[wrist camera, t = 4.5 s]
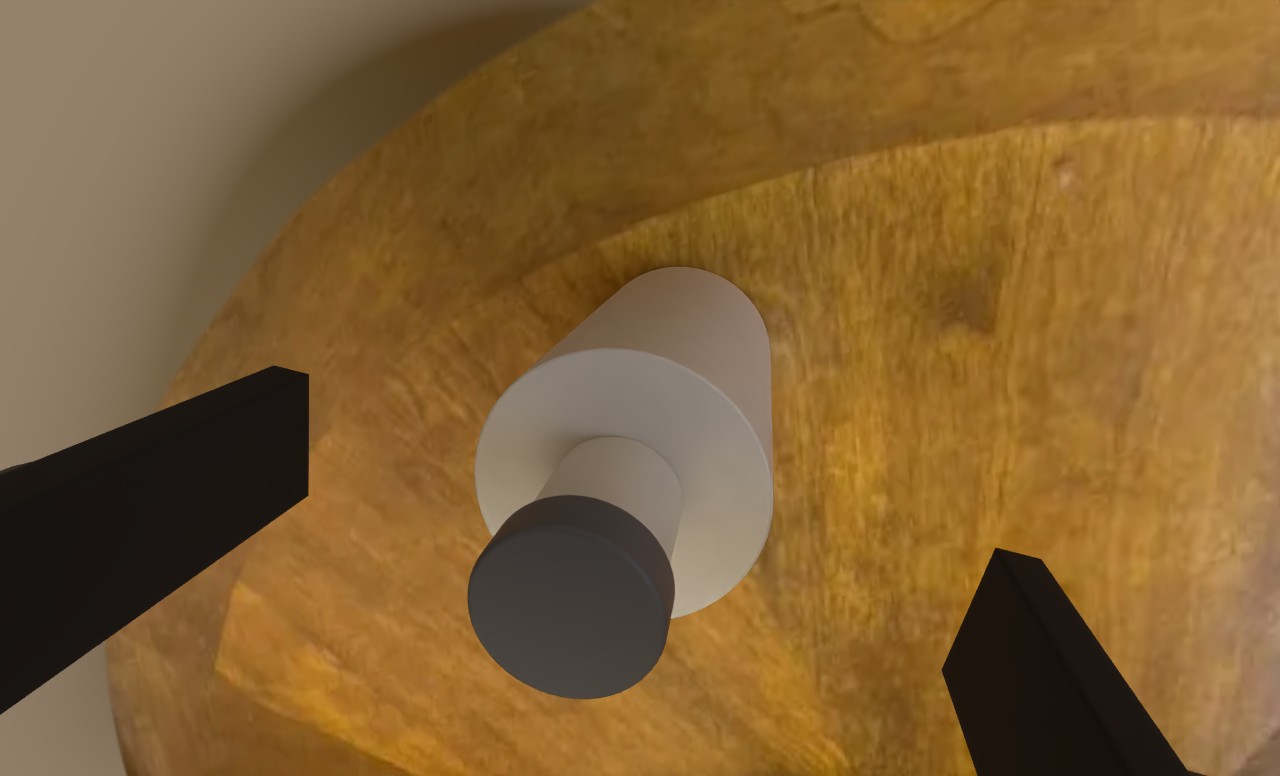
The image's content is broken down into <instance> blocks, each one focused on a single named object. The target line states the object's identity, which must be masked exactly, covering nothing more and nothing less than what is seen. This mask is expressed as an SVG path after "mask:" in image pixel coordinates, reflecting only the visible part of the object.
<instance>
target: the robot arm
mask: <svg viewBox="0 0 1280 776" xmlns="http://www.w3.org/2000/svg"><path fill="white" fill-rule="evenodd" d="M308 477H309V374H306V373H302V372H298V371H294V370H290V369H286V368H282V367H278V366H271V367H269V368H266V369H264V370H261V371H259V372H256V373H254V374H251V375H249V376H246V377H244V378H241V379H239V380H236V381H234V382H231V383H229V384H226V385H224V386H221V387H219V388H216V389H214V390H211V391H209V392H206V393H204V394H201V395H199V396H196V397H194V398H191V399H189V400H186V401H184V402H181V403H179V404H176V405H174V406H171V407H169V408H166V409H164V410H161V411H159V412H156V413H154V414H151V415H149V416H147V417H144V418H141V419H139V420H136V421H134V422H131V423H129V424H126V425H124V426H122V427H119V428H116V429H114V430H111V431H109V432H106V433H104V434H101V435H99V436H96V437H94V438H91V439H89V440H86V441H84V442H81V443H79V444H76V445H74V446H71V447H69V448H66V449H64V450H61V451H59V452H57V453H54V454H51V455H49V456H46V457H44V458H41V459H39V460H36V461H34V462H29V463H25V464H21V465H17V466H13V467H10V468H7V469H5V470H2V471H0V715H1V714H2V713H3V712H5V711H6V710H8V709H9V708H10V707H12V706H13V705H15V704H16V703H18V702H19V701H20V700H22V699H23V698H25V697H26V696H27V695H29V694H30V693H32V692H33V691H34V690H36V689H37V688H39V687H40V686H41V685H43V684H44V683H46V682H47V681H48V680H50V679H51V678H53V677H54V676H55V675H57V674H58V673H60V672H61V671H63V670H64V669H65V668H67V667H68V666H69V665H71V664H72V663H74V662H75V661H77V660H78V659H79V658H81V657H82V656H84V655H85V654H86V653H88V652H89V651H90V650H92V649H93V648H95V647H96V646H97V645H99V644H100V643H102V642H103V641H105V640H106V639H107V638H109V637H110V636H112V635H113V634H114V633H116V632H117V631H119V630H120V629H122V628H123V627H124V626H126V625H127V624H129V623H130V622H131V621H133V620H134V619H136V618H137V617H138V616H140V615H141V614H143V613H144V612H145V611H147V610H148V609H150V608H151V607H152V606H154V605H155V604H157V603H158V602H159V601H161V600H162V599H164V598H165V597H166V596H168V595H169V594H171V593H172V592H173V591H175V590H176V589H178V588H179V587H181V586H182V585H183V584H185V583H186V582H188V581H189V580H190V579H192V578H193V577H195V576H196V575H197V574H199V573H200V572H202V571H203V570H204V569H206V568H207V567H209V566H210V565H211V564H213V563H214V562H216V561H217V560H218V559H220V558H221V557H223V556H224V555H225V554H227V553H228V552H230V551H231V550H233V549H234V548H235V547H237V546H238V545H240V544H241V543H242V542H244V541H245V540H247V539H248V538H249V537H251V536H252V535H254V534H255V533H256V532H258V531H259V530H261V529H262V528H263V527H265V526H266V525H268V524H269V523H270V522H272V521H273V520H275V519H276V518H277V517H279V516H280V515H282V514H283V513H284V512H286V511H287V510H289V509H290V508H292V507H293V506H294V505H296V504H297V503H299V502H300V501H301V500H303V499H304V498H306V497H307V496H308ZM942 673H943V676H944V679H945V682H946V684H947V687H948V690H949V693H950V696H951V699H952V702H953V705H954V708H955V711H956V714H957V717H958V720H959V723H960V725H961V728H962V731H963V734H964V737H965V740H966V743H967V746H968V749H969V752H970V755H971V758H972V761H973V764H974V767H975V769H976V772H977V775H978V776H1206V775H1202V774H1199V773H1195V772H1191V771H1188V770H1187V769H1186V768H1185V766H1184V765H1183V763H1182V762H1181V761H1180V759H1179V758H1178V756H1177V755H1176V753H1175V752H1174V750H1173V749H1172V748H1171V746H1170V745H1169V743H1168V742H1167V740H1166V739H1165V737H1164V736H1163V735H1162V733H1161V732H1160V730H1159V729H1158V727H1157V726H1156V724H1155V723H1154V722H1153V720H1152V719H1151V717H1150V716H1149V714H1148V713H1147V711H1146V710H1145V709H1144V707H1143V706H1142V704H1141V703H1140V701H1139V700H1138V698H1137V697H1136V696H1135V694H1134V693H1133V691H1132V690H1131V688H1130V687H1129V685H1128V684H1127V683H1126V681H1125V680H1124V678H1123V677H1122V675H1121V674H1120V672H1119V671H1118V669H1117V668H1116V667H1115V665H1114V664H1113V662H1112V661H1111V659H1110V658H1109V656H1108V655H1107V654H1106V652H1105V651H1104V649H1103V648H1102V646H1101V645H1100V643H1099V642H1098V641H1097V639H1096V638H1095V636H1094V635H1093V633H1092V632H1091V630H1090V629H1089V628H1088V626H1087V625H1086V623H1085V622H1084V620H1083V619H1082V617H1081V616H1080V615H1079V613H1078V612H1077V610H1076V609H1075V607H1074V606H1073V604H1072V603H1071V602H1070V600H1069V599H1068V597H1067V596H1066V594H1065V593H1064V591H1063V590H1062V589H1061V587H1060V586H1059V584H1058V583H1057V581H1056V580H1055V578H1054V577H1053V575H1052V574H1051V573H1050V571H1049V570H1048V568H1047V567H1046V565H1045V564H1044V562H1043V561H1042V560H1041V559H1039V558H1035V557H1031V556H1027V555H1023V554H1019V553H1015V552H1011V551H1007V550H1003V549H999V548H995V550H994V552H993V555H992V557H991V559H990V561H989V564H988V566H987V568H986V570H985V573H984V575H983V577H982V579H981V582H980V584H979V586H978V589H977V591H976V593H975V595H974V598H973V600H972V602H971V604H970V607H969V609H968V611H967V614H966V616H965V618H964V620H963V623H962V625H961V627H960V629H959V632H958V634H957V636H956V638H955V641H954V643H953V645H952V648H951V650H950V652H949V654H948V657H947V659H946V661H945V663H944V666H943V668H942Z"/></svg>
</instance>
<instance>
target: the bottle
mask: <svg viewBox="0 0 1280 776" xmlns="http://www.w3.org/2000/svg"><path fill="white" fill-rule="evenodd" d="M475 485H476V494H477V498H478V502H479V506H480V510H481V513H482V515H483V518H484V521H485V523H486V526H487V528H488V530H489V532H490V534H491V536H492V537H493V538H492V540H491V541H490V542H489V544H488V545H487V546H486V548H485V549H484V551H483V552H482V553H481V555H480V556H479V558H478V559H477V561H476V563H475V565H474V567H473V570H472V572H471V575H470V579H469V585H468V609H469V615H470V618H471V622H472V625H473V627H474V630H475V632H476V634H477V636H478V638H479V640H480V642H481V643H482V645H483V646H484V648H485V649H486V651H487V652H488V653H489V654H490V656H491V657H492V658H493V659H494V660H495V661H496V662H497V663H498V664H499V665H500V666H501V667H502V668H503V669H504V670H506V671H507V672H508V673H510V674H511V675H512V676H514V677H515V678H516V679H518V680H520V681H522V682H523V683H525V684H527V685H529V686H531V687H533V688H535V689H537V690H540V691H543V692H545V693H548V694H551V695H556V696H560V697H565V698H573V699H594V698H602V697H607V696H611V695H614V694H617V693H620V692H622V691H624V690H626V689H628V688H630V687H632V686H633V685H635V684H636V683H638V682H639V681H641V680H642V679H643V678H644V677H645V676H646V675H647V674H648V673H649V672H650V671H651V670H652V668H653V667H654V666H655V664H656V663H657V662H658V660H659V658H660V656H661V654H662V652H663V649H664V646H665V643H666V639H667V634H668V629H669V624H670V620H671V619H673V618H677V617H681V616H685V615H687V614H690V613H693V612H695V611H698V610H700V609H702V608H704V607H706V606H708V605H710V604H712V603H714V602H716V601H717V600H718V599H720V598H721V597H722V596H724V595H725V594H727V593H728V592H729V591H731V590H732V589H733V588H734V587H735V586H736V585H737V584H738V583H739V582H740V581H741V580H742V579H743V578H744V577H745V575H746V574H747V573H748V572H749V570H750V569H751V568H752V566H753V565H754V564H755V562H756V560H757V558H758V556H759V555H760V553H761V551H762V549H763V547H764V544H765V541H766V539H767V536H768V534H769V529H770V525H771V520H772V515H773V499H774V491H773V448H772V405H771V362H770V344H769V338H768V334H767V330H766V327H765V325H764V322H763V319H762V318H761V316H760V314H759V312H758V310H757V309H756V307H755V306H754V305H753V303H752V302H751V300H750V299H749V298H748V297H747V296H746V295H745V294H744V293H743V292H742V291H741V290H740V289H739V288H737V287H736V286H735V285H734V284H732V283H731V282H729V281H728V280H726V279H724V278H723V277H721V276H718V275H716V274H714V273H711V272H709V271H705V270H702V269H698V268H691V267H667V268H661V269H657V270H653V271H650V272H647V273H645V274H642V275H640V276H638V277H636V278H635V279H633V280H631V281H630V282H628V283H627V284H626V285H624V286H623V287H622V288H621V289H619V290H618V291H617V292H616V293H615V294H614V295H613V296H611V297H610V298H609V299H608V300H607V301H606V302H605V303H603V304H602V305H601V306H600V307H599V308H598V309H597V310H595V311H594V312H593V313H592V314H591V315H590V316H589V317H587V318H586V319H585V320H584V321H583V322H582V323H581V324H579V325H578V326H577V327H576V328H575V329H574V330H573V331H571V332H570V333H569V334H568V335H567V336H566V337H564V338H563V339H562V340H561V341H560V342H559V343H558V344H556V345H555V346H554V347H553V348H552V349H551V350H550V351H548V352H547V353H546V354H545V355H544V356H543V357H542V358H540V359H539V360H538V361H537V362H536V363H535V364H534V365H532V366H531V367H530V368H529V369H528V370H527V371H526V372H524V373H523V374H522V375H521V376H520V377H519V378H518V379H516V380H515V381H514V382H513V383H512V384H511V385H510V386H509V387H508V388H507V389H506V391H505V392H504V393H503V394H502V395H501V396H500V398H499V399H498V400H497V402H496V403H495V405H494V406H493V407H492V409H491V411H490V413H489V415H488V417H487V419H486V421H485V423H484V425H483V428H482V431H481V434H480V437H479V440H478V445H477V450H476V456H475Z"/></svg>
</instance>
